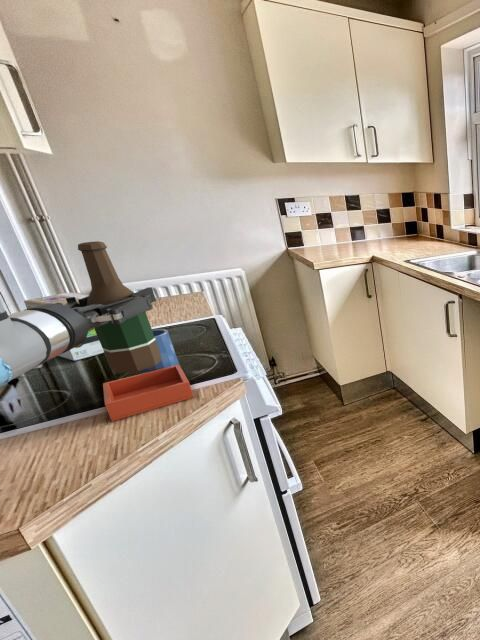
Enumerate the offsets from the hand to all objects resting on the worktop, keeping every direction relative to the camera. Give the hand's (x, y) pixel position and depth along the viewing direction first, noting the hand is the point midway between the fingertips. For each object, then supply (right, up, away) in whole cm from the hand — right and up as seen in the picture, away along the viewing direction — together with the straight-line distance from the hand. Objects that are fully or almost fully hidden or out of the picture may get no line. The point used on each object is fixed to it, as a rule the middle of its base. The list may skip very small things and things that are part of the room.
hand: (128, 296), depth 83 cm
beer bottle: (+2, -14, 0) cm, 14 cm away
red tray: (+2, -20, +3) cm, 21 cm away
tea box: (-38, -12, +29) cm, 50 cm away
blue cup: (-4, -17, +13) cm, 22 cm away
